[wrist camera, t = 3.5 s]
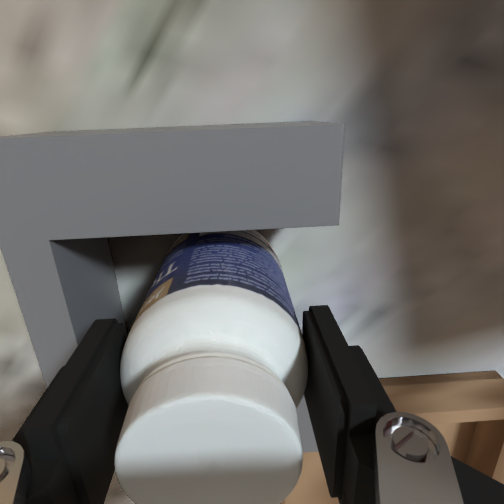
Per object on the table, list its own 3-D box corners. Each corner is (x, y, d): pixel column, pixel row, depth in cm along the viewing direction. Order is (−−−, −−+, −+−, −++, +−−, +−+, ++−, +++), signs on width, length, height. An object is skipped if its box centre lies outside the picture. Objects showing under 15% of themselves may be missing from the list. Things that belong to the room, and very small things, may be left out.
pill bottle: (170, 208, 15) (74, 350, 6) (290, 227, 16) (368, 382, 7) (159, 314, 17) (76, 543, 8) (267, 327, 18) (303, 554, 8)
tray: (495, 370, 19) (530, 405, 17) (453, 518, 24) (476, 561, 22) (264, 386, 19) (268, 424, 17) (268, 534, 24) (272, 579, 21)
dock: (311, 120, 14) (345, 124, 10) (305, 376, 19) (325, 450, 15) (47, 132, 14) (-35, 140, 9) (109, 388, 18) (74, 469, 14)
